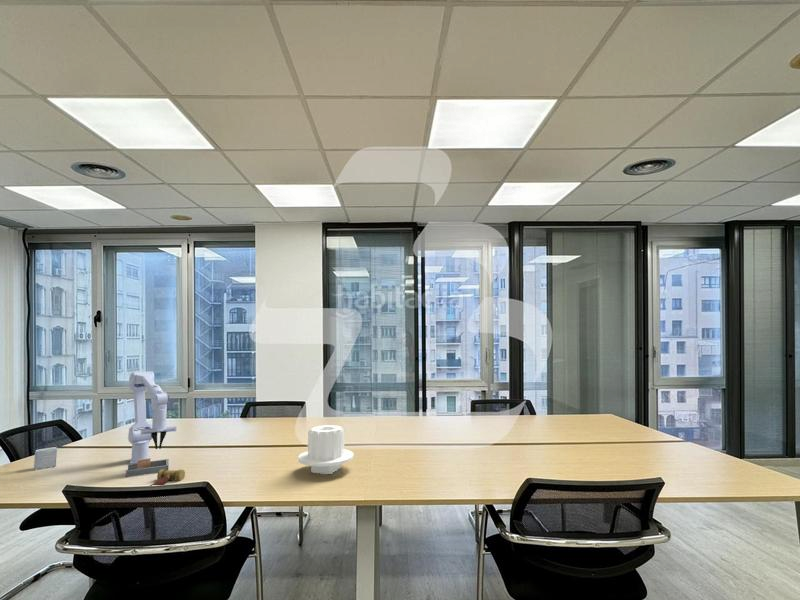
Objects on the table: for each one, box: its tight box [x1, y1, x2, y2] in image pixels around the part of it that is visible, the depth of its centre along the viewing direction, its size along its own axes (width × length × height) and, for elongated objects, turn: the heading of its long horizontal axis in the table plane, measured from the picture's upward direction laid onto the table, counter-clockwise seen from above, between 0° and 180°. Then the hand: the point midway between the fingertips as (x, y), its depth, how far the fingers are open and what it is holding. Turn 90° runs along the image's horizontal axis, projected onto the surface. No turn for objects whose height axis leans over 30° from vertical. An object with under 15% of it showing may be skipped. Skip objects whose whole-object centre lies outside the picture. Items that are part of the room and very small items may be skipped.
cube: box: [137, 457, 152, 469], centre depth 194 cm, size 5×5×5 cm
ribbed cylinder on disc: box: [297, 424, 354, 475], centre depth 193 cm, size 25×25×19 cm
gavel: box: [149, 469, 186, 486], centre depth 174 cm, size 21×5×10 cm
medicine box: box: [33, 446, 58, 470], centre depth 200 cm, size 8×4×9 cm, turn 134°
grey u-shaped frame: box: [125, 458, 170, 478], centre depth 195 cm, size 12×16×2 cm
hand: (158, 448), depth 197 cm, fingers closed
